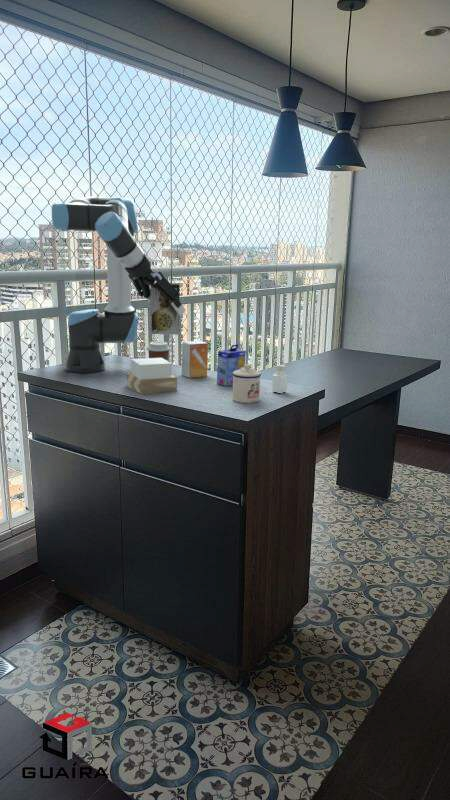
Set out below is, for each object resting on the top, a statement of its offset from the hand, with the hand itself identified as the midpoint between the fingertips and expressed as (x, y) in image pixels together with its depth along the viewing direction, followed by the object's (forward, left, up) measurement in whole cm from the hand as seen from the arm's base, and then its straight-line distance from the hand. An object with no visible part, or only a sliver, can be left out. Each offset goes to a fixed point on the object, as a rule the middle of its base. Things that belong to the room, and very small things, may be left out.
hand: (171, 311), depth 183 cm
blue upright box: (-2, +25, -27) cm, 37 cm away
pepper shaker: (+17, +33, -27) cm, 46 cm away
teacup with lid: (+20, +18, -27) cm, 38 cm away
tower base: (-7, -4, -27) cm, 29 cm away
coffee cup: (-28, +8, -27) cm, 40 cm away
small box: (-19, +19, -27) cm, 38 cm away
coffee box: (+1, -3, -7) cm, 8 cm away
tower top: (-7, -4, -22) cm, 24 cm away
